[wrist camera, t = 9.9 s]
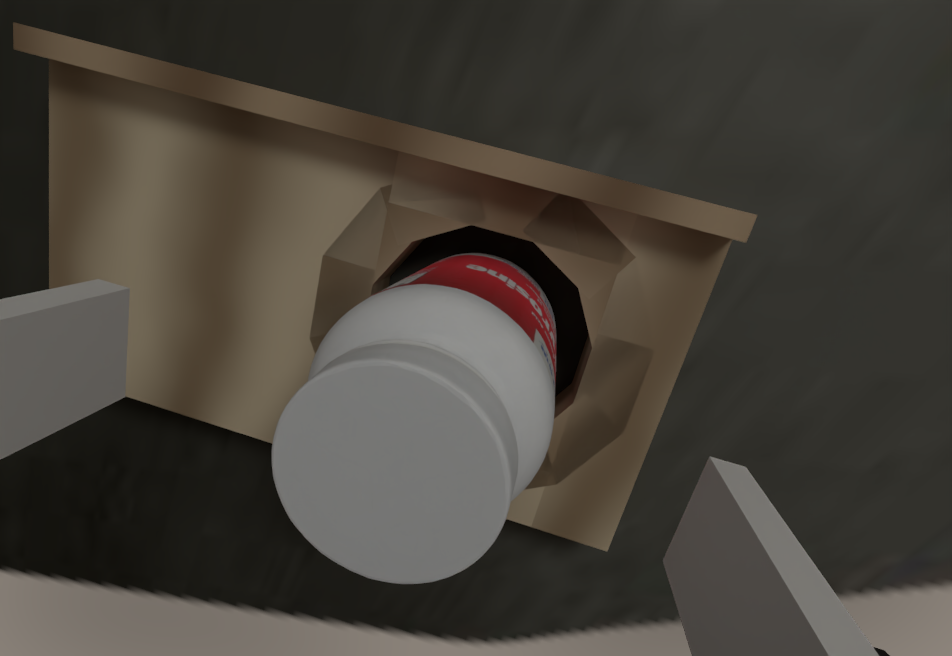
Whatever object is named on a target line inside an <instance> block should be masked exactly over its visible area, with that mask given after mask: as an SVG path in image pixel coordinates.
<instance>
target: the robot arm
mask: <svg viewBox="0 0 952 656" xmlns="http://www.w3.org/2000/svg"><path fill="white" fill-rule="evenodd" d="M129 297H130V288H128V287H124V286H121V285H117V284H114V283H111V282H107V281H104V280H100V279H96V280H91V281H86V282H82V283H77V284H72V285H67V286H62V287H58V288H53V289H48V290H43V291H38V292H34V293H29V294H24V295H19V296H14V297H10V298H5V299H0V459H2V458H4V457H6V456H8V455H10V454H12V453H14V452H16V451H18V450H20V449H22V448H24V447H26V446H28V445H30V444H32V443H34V442H36V441H38V440H40V439H42V438H44V437H46V436H48V435H50V434H52V433H54V432H56V431H58V430H60V429H62V428H64V427H66V426H68V425H70V424H72V423H74V422H76V421H78V420H80V419H82V418H84V417H86V416H88V415H90V414H92V413H94V412H96V411H98V410H100V409H102V408H104V407H106V406H108V405H110V404H112V403H114V402H116V401H118V400H120V399H122V398H124V397H125V390H126V367H127V343H128V320H129ZM663 563H664V567H665V570H666V573H667V576H668V579H669V583H670V586H671V589H672V592H673V596H674V599H675V602H676V605H677V609H678V612H679V615H680V618H681V622H682V625H683V628H684V631H685V635H686V638H687V641H688V644H689V648H690V651H691V654H692V656H889V655H888V654H887V653H886V652H885V651H884V650H881V649H878V648H874V647H873V646H872V645H871V644H870V642H869V641H868V639H867V638H866V637H865V635H864V634H863V632H862V631H861V630H860V628H859V627H858V625H857V624H856V622H855V621H854V619H853V618H852V617H851V615H850V614H849V612H848V611H847V610H846V608H845V607H844V605H843V604H842V602H841V601H840V600H839V598H838V597H837V595H836V594H835V593H834V591H833V590H832V588H831V587H830V585H829V584H828V583H827V581H826V580H825V578H824V577H823V576H822V574H821V573H820V571H819V570H818V569H817V567H816V566H815V564H814V563H813V561H812V560H811V559H810V557H809V556H808V554H807V553H806V552H805V550H804V549H803V547H802V546H801V544H800V543H799V542H798V540H797V539H796V537H795V536H794V535H793V533H792V532H791V530H790V529H789V527H788V526H787V525H786V523H785V522H784V520H783V519H782V518H781V516H780V515H779V513H778V512H777V510H776V509H775V508H774V506H773V505H772V503H771V502H770V501H769V499H768V498H767V496H766V495H765V493H764V492H763V491H762V489H761V488H760V486H759V485H758V484H757V482H756V481H755V479H754V478H753V476H752V475H751V474H750V472H749V471H748V469H747V468H746V467H744V466H741V465H737V464H734V463H730V462H727V461H723V460H720V459H716V458H713V457H710V456H709V458H708V461H707V463H706V465H705V467H704V470H703V472H702V474H701V476H700V479H699V481H698V483H697V485H696V487H695V490H694V492H693V494H692V496H691V499H690V501H689V503H688V505H687V508H686V510H685V512H684V514H683V516H682V519H681V521H680V523H679V525H678V528H677V530H676V532H675V534H674V537H673V539H672V541H671V543H670V545H669V548H668V550H667V552H666V554H665V557H664V559H663Z"/></svg>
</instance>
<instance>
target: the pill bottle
mask: <svg viewBox="0 0 952 656" xmlns="http://www.w3.org/2000/svg"><path fill="white" fill-rule="evenodd" d="M555 381H556V324H555V318H554V314H553V311H552V307H551V305H550V303H549V301H548V299H547V297H546V295H545V293H544V292H543V290H542V289H541V287H540V286H539V285H538V283H537V282H536V281H535V280H534V279H533V278H532V277H531V276H530V275H529V274H528V273H527V272H526V271H525V270H523V269H522V268H521V267H519V266H517V265H516V264H514V263H513V262H511V261H509V260H506V259H504V258H501V257H498V256H495V255H490V254H485V253H464V254H458V255H453V256H450V257H447V258H444V259H442V260H439V261H437V262H435V263H433V264H431V265H429V266H427V267H425V268H423V269H421V270H419V271H417V272H416V273H414V274H412V275H410V276H408V277H406V278H404V279H402V280H400V281H399V282H397V283H395V284H393V285H391V286H389V287H387V288H386V289H383V290H382V291H380V292H377V293H375V294H373V295H371V296H370V297H368V298H367V299H366V300H364V301H362V302H361V303H359V304H358V305H356V306H355V307H354V308H352V309H351V310H349V311H348V312H347V313H346V314H345V315H344V316H342V317H341V318H340V319H339V320H338V321H337V322H336V323H335V324H334V326H333V327H332V328H331V329H330V330H329V331H328V333H327V334H326V336H325V337H324V339H323V340H322V342H321V343H320V345H319V347H318V350H317V352H316V354H315V356H314V359H313V362H312V364H311V368H310V372H309V376H308V382H306V383H305V384H304V385H303V386H302V387H301V388H300V389H299V390H298V391H297V392H296V393H295V394H294V396H293V397H292V398H291V399H290V401H289V402H288V404H287V405H286V407H285V409H284V410H283V412H282V414H281V416H280V418H279V421H278V423H277V426H276V430H275V433H274V437H273V443H272V471H273V478H274V482H275V486H276V489H277V492H278V495H279V497H280V500H281V502H282V505H283V507H284V509H285V511H286V513H287V514H288V516H289V518H290V520H291V521H292V522H293V524H294V525H295V527H296V528H297V529H298V530H299V531H300V532H301V533H302V535H303V536H304V537H305V538H306V539H307V540H308V541H309V542H310V543H311V544H312V545H313V546H314V547H315V548H316V549H317V550H319V551H320V552H321V553H322V554H323V555H325V556H326V557H328V558H329V559H331V560H332V561H334V562H335V563H337V564H339V565H341V566H343V567H344V568H346V569H348V570H350V571H352V572H355V573H357V574H360V575H362V576H365V577H367V578H370V579H374V580H379V581H383V582H389V583H397V584H419V583H428V582H434V581H437V580H441V579H444V578H448V577H450V576H452V575H454V574H456V573H458V572H461V571H463V570H464V569H466V568H467V567H469V566H470V565H472V564H473V563H475V562H476V561H477V560H478V559H479V558H480V557H482V556H483V555H484V554H485V552H486V551H487V550H488V549H489V548H490V546H491V545H492V544H493V543H494V541H495V540H496V538H497V536H498V535H499V533H500V531H501V529H502V527H503V525H504V523H505V520H506V518H507V514H508V511H509V507H510V502H511V501H512V500H514V499H515V498H516V497H517V496H518V495H519V494H520V493H521V492H522V491H523V490H524V489H525V488H526V487H527V486H528V485H529V484H530V482H531V481H532V480H533V478H534V476H535V475H536V473H537V472H538V470H539V468H540V466H541V465H542V463H543V461H544V459H545V456H546V453H547V450H548V448H549V444H550V440H551V435H552V430H553V423H554V413H555Z"/></svg>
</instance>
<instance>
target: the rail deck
mask: <svg viewBox="0 0 952 656" xmlns="http://www.w3.org/2000/svg"><path fill="white" fill-rule="evenodd" d="M13 38H14V49H15V50H19V51H22V52H26V53H30V54H34V55H38V56H41V57H45V58H49V289H53V288H58V287H62V286H67V285H72V284H77V283H82V282H86V281H91V280H96V279H100V280H104V281H107V282H111V283H114V284H117V285H121V286H124V287H128V288H130V297H129V320H128V343H127V367H126V390H125V396H126V397H129V398H133V399H136V400H139V401H142V402H145V403H148V404H151V405H154V406H157V407H160V408H164V409H167V410H170V411H173V412H176V413H179V414H182V415H185V416H188V417H191V418H195V419H198V420H201V421H204V422H207V423H210V424H213V425H216V426H219V427H222V428H226V429H229V430H232V431H235V432H238V433H241V434H244V435H247V436H250V437H253V438H257V439H260V440H263V441H266V442H269V443H273V437H274V433H275V430H276V426H277V423H278V421H279V418H280V416H281V414H282V412H283V410H284V409H285V407H286V405H287V404H288V402H289V401H290V399H291V398H292V397H293V396H294V394H295V393H296V392H297V391H298V390H299V389H300V388H301V387H302V386H303V385H304V384H305V383H306V382H308V376H309V372H310V368H311V364H312V362H313V359H314V356H315V354H316V352H317V350H318V347H319V345H320V343H321V342H322V340H323V339H324V337H325V336H326V334H327V333H328V331H329V330H330V329H331V328H332V327H333V326H334V324H335V323H336V322H337V321H338V320H339V319H340V318H341V317H342V316H344V315H345V314H346V313H347V312H348V311H349V310H351V309H352V308H354V307H355V306H356V305H358V304H359V303H361V302H362V301H364V300H366V299H367V298H368V297H370V296H371V295H373V294H375V293H377V292H380V291H382V290H383V289H386V288H387V287H389V282H390V277H391V275H392V274H393V273H394V272H395V270H396V269H397V268H398V267H399V266H400V265H401V264H402V263H403V262H404V261H405V260H406V259H407V258H408V256H409V255H410V254H411V253H412V252H413V251H414V250H415V249H416V248H417V247H418V246H419V245H420V243H421V242H422V241H423V240H424V239H425V238H427V237H430V236H434V235H437V234H441V233H445V232H448V231H452V230H455V229H459V228H462V227H466V226H470V225H473V226H477V227H480V228H484V229H488V230H491V231H495V232H499V233H502V234H506V235H510V236H513V237H517V238H521V239H524V240H528V241H532V242H534V243H535V244H536V245H537V246H538V247H539V248H540V249H541V250H542V251H543V252H544V253H545V255H546V256H547V257H548V258H549V259H550V260H551V261H552V262H553V263H554V264H555V265H556V266H557V267H558V268H559V269H560V270H561V271H562V272H563V273H564V274H565V275H566V276H567V277H568V278H569V279H570V280H571V281H572V282H573V283H574V284H575V285H576V286H577V287H578V290H579V294H580V298H581V302H582V307H583V311H584V315H585V320H586V324H587V328H588V332H589V333H588V336H587V339H586V342H585V345H584V348H583V351H582V354H581V357H580V360H579V363H578V366H577V369H576V372H575V375H574V378H573V381H572V383H571V384H570V385H569V386H568V387H566V388H565V389H564V390H563V391H562V392H560V393H559V394H558V395H557V396H556V397H555V413H554V423H553V430H552V435H551V440H550V444H549V448H548V450H547V453H546V456H545V459H544V461H543V463H542V465H541V466H540V468H539V470H538V472H537V473H536V475H535V476H534V478H533V480H532V481H531V482H530V484H529V485H528V486H527V487H526V488H525V489H524V490H523V491H522V492H521V493H520V494H519V495H518V496H517V497H516V498H515V499H514V500H512V501H511V502H510V507H509V511H508V514H507V518H506V519H508V520H511V521H514V522H517V523H520V524H523V525H526V526H529V527H532V528H536V529H539V530H542V531H545V532H548V533H551V534H554V535H557V536H560V537H563V538H567V539H570V540H573V541H576V542H579V543H582V544H585V545H588V546H591V547H594V548H598V549H601V550H604V551H608V548H609V546H610V543H611V541H612V538H613V536H614V533H615V531H616V528H617V526H618V523H619V521H620V518H621V516H622V513H623V511H624V508H625V506H626V503H627V501H628V498H629V496H630V493H631V491H632V488H633V486H634V483H635V481H636V478H637V476H638V473H639V471H640V468H641V466H642V463H643V461H644V458H645V456H646V453H647V451H648V448H649V446H650V443H651V441H652V438H653V436H654V434H655V431H656V429H657V426H658V424H659V421H660V419H661V416H662V414H663V411H664V409H665V406H666V404H667V401H668V399H669V396H670V394H671V391H672V389H673V386H674V384H675V381H676V379H677V376H678V374H679V371H680V369H681V366H682V364H683V361H684V359H685V356H686V354H687V351H688V349H689V346H690V344H691V341H692V339H693V336H694V334H695V331H696V329H697V326H698V324H699V321H700V319H701V316H702V314H703V311H704V309H705V306H706V304H707V301H708V299H709V296H710V294H711V291H712V289H713V286H714V284H715V281H716V279H717V276H718V274H719V271H720V269H721V266H722V264H723V261H724V259H725V256H726V254H727V252H728V249H729V247H730V244H731V242H732V239H734V240H738V241H741V242H745V243H746V242H747V239H748V237H749V235H750V232H751V230H752V227H753V225H754V222H755V220H756V217H757V215H754V214H750V213H747V212H743V211H739V210H735V209H731V208H727V207H723V206H720V205H716V204H712V203H708V202H704V201H700V200H696V199H693V198H689V197H685V196H681V195H677V194H673V193H669V192H666V191H662V190H658V189H654V188H650V187H646V186H642V185H639V184H635V183H631V182H627V181H623V180H619V179H615V178H612V177H608V176H604V175H600V174H596V173H592V172H588V171H585V170H581V169H577V168H573V167H569V166H565V165H561V164H558V163H554V162H550V161H546V160H542V159H538V158H534V157H531V156H527V155H523V154H519V153H515V152H511V151H507V150H504V149H500V148H496V147H492V146H488V145H484V144H480V143H477V142H473V141H469V140H465V139H461V138H457V137H453V136H450V135H446V134H442V133H438V132H434V131H430V130H426V129H423V128H419V127H415V126H411V125H407V124H403V123H399V122H396V121H392V120H388V119H384V118H380V117H376V116H372V115H369V114H365V113H361V112H357V111H353V110H349V109H345V108H342V107H338V106H334V105H330V104H326V103H322V102H318V101H315V100H311V99H307V98H303V97H299V96H295V95H291V94H288V93H284V92H280V91H276V90H272V89H268V88H264V87H261V86H257V85H253V84H249V83H245V82H241V81H237V80H234V79H230V78H226V77H222V76H218V75H214V74H210V73H207V72H203V71H199V70H195V69H191V68H187V67H183V66H180V65H176V64H172V63H168V62H164V61H160V60H156V59H153V58H149V57H145V56H141V55H137V54H133V53H129V52H126V51H122V50H118V49H114V48H110V47H106V46H102V45H99V44H95V43H91V42H87V41H83V40H79V39H75V38H72V37H68V36H64V35H60V34H56V33H52V32H48V31H45V30H41V29H37V28H33V27H29V26H25V25H21V24H18V23H14V22H13Z"/></svg>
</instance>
